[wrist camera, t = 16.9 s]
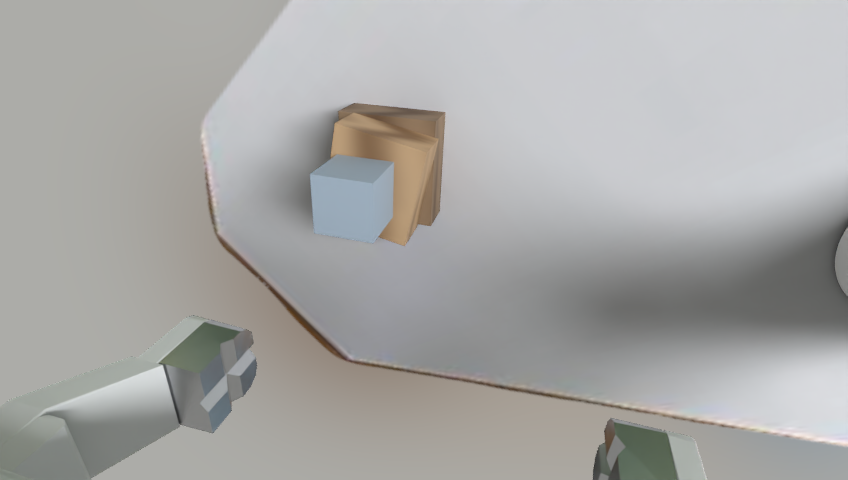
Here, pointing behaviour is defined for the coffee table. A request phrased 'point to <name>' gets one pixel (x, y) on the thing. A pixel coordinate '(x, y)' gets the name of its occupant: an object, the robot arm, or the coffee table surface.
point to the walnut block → (420, 123)
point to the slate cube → (352, 197)
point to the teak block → (409, 165)
